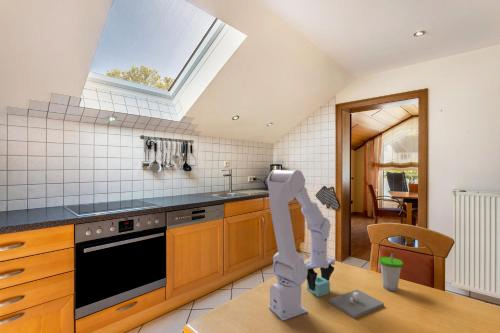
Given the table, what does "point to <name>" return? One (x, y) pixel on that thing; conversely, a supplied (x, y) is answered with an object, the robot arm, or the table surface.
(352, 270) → the table surface
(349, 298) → the post board
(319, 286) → the teal slotted block
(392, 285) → the cup
